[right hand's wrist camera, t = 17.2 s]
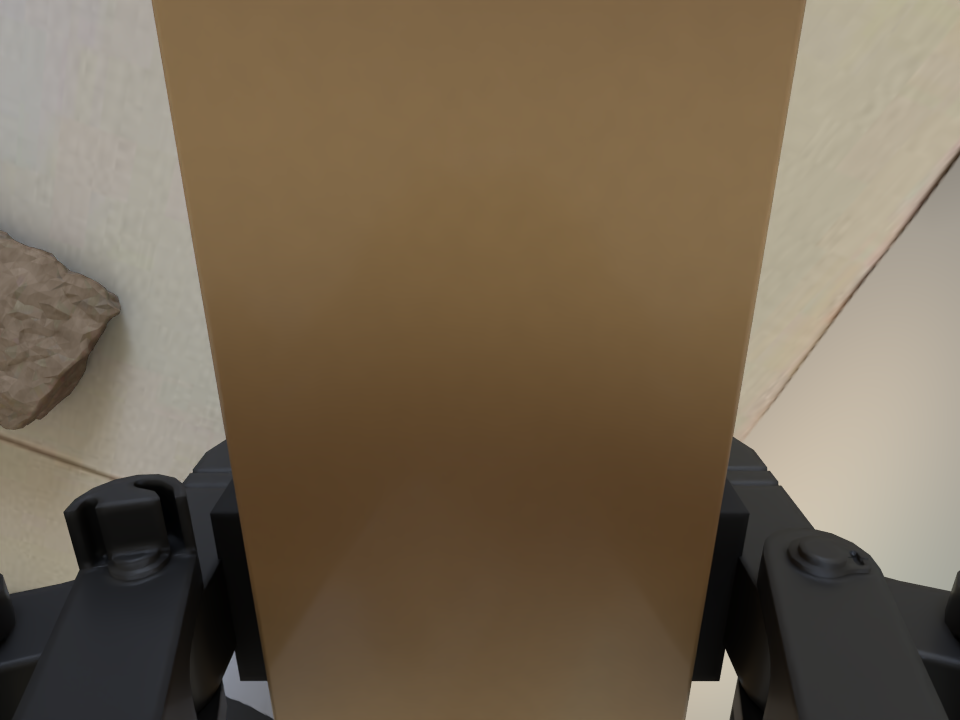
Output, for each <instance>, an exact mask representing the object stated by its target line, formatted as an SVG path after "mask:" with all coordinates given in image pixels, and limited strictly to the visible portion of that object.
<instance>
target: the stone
mask: <svg viewBox="0 0 960 720" xmlns="http://www.w3.org/2000/svg"><path fill="white" fill-rule="evenodd" d="M120 308H121V306H120V303H119V300H118V297H117V296H116V295H115V294H113V293H111V292H108V291H107V290H106V288H104V287H103V286H102V285H100V284H99V283H98V282H96V281H94V280H92V279H90V278H87V277H86V276H84V275H82V274H79V273H75V272H71V271H70V270H68V269H67V268H66V267H65V266H64V265H63V264H62V263H60V262H59V261H57V259H56V258H55V257H54V255H53V254H51V253H48V252H46V251H43V250H41V249H36V248H33V247H28V246H26V245H24V244H21V243H19V242H17V241H15V240H14V239H12V238H11V237H10V236H9V235H8V234H7V233H6V232H3V231H1V230H0V425H1V426H2V427H4V428H6V429H15V430H16V429H20V428H23V427H25V426H26V425H28V424H30V423H31V422H32V421H34V420H35V419H40V420H41V419H42V418H43V417H44V416H46V415H47V414H48V412H49V411H51V410H52V409H53V408H54V407H55V406H56V405H57V404H58V403H59V402H60V401H61V400H63V399H64V398H65V397H67V396H68V395H70V393H71V392H72V391H73V389H74V388H75V386H76V385H77V383H78V381H79V380H80V379H81V377H82V376H83V373H84V372H85V370H86V363H87V359H88V355H89V354H90V352H91V351H92V350H93V348H94V346H95V345H96V343H97V341H98V339H99V337H100V336H101V334H102V333H103V332H104V330H105V328H106V325H107V323H108V322H109V321H110V320H111V319H112V317H115V316H116V315H118V314H119V313H120Z"/></svg>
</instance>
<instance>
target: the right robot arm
mask: <svg viewBox="0 0 960 720" xmlns="http://www.w3.org/2000/svg"><path fill="white" fill-rule="evenodd" d="M64 516H65V519H66V523H67V526H68V530H69V534H70V537H71V541H72V544H73V548H74V551H75V555H76V559H77V562H78V566H79V569H80V570H79V572H78V575H77V577H76V579H75V580H73V581H69V582H65V583H62V584H57V585H52V586H47V587H43V588H38V589H33V590H28V591H23V592H18V593H13V594H9V592H8V589H7V586H6V583H5V580H4V577H3V575H2V574H0V720H274V717H273V711H272V705H271V700H270V694H269V688H268V682H267V676H266V670H265V664H264V658H263V652H262V647H261V641H260V635H259V629H258V623H257V617H256V611H255V605H254V600H253V594H252V588H251V582H250V576H249V570H248V564H247V558H246V552H245V547H244V541H243V535H242V529H241V523H240V517H239V511H238V505H237V500H236V494H235V488H234V482H233V476H232V470H231V464H230V458H229V452H228V447H227V441H226V440H225V441H223V442H222V443H220V444H218V445H217V446H215V447H214V448H212V449H211V450H209V451H207V452H206V453H205V455H204V456H203V457H202V458H201V460H200V461H199V462H198V464H197V465H196V466H195V468H194V469H193V473H190V474H189V475H188V477H187V478H186V479H185V481H184V482H183V483H181V482H180V481H178V480H177V479H176V478H174V477H169V476H165V475H160V474H149V475H135V476H130V477H125V478H121V479H116V480H113V481H110V482H108V483H105V484H103V485H100V486H97V487H95V488H93V489H91V490H89V491H88V492H86V493H84V494H83V495H81V496H80V497H78V498H76V499H75V500H74V501H73V502H72V503H71V504H70V505H69V507H68V508H67V509H66V510H65V511H64ZM725 649H726V651H727V653H728V656H729V658H730V660H731V662H732V665H733V667H734V669H735V671H736V674H737V676H738V679H737V685H736V690H735V695H734V700H733V705H732V710H731V715H730V720H960V571H959V572H958V573H957V576H956V579H955V582H954V585H953V588H952V591H946V590H941V589H936V588H932V587H927V586H922V585H917V584H912V583H907V582H902V581H898V580H894V579H890V578H887V577H884V576H883V573H882V571H881V569H880V568H879V566H878V565H877V564H876V562H875V561H874V560H873V558H872V557H871V556H870V555H869V554H868V553H866V552H865V551H863V550H862V549H861V548H859V547H858V546H857V545H855V544H854V543H852V542H850V541H848V540H845V539H843V538H841V537H839V536H836V535H834V534H832V533H828V532H824V531H819V530H815V529H814V528H813V526H812V525H811V524H810V522H809V521H808V520H807V519H806V517H805V516H804V515H803V513H802V512H801V511H800V509H799V508H798V507H797V506H796V504H795V503H794V502H793V500H792V499H791V498H790V496H789V495H788V494H787V493H786V491H785V490H784V489H783V487H782V486H779V485H778V481H777V480H776V478H775V477H774V476H773V474H772V473H771V472H770V471H767V467H766V465H765V464H764V463H763V461H762V460H761V459H760V458H759V456H758V455H757V454H756V452H755V451H754V450H753V449H751V448H750V447H748V446H747V445H745V444H743V443H742V442H740V441H739V440H737V439H736V438H734V437H733V439H732V445H731V451H730V456H729V462H728V468H727V474H726V480H725V486H724V492H723V498H722V504H721V510H720V516H719V522H718V528H717V534H716V540H715V546H714V552H713V557H712V563H711V569H710V575H709V581H708V587H707V593H706V599H705V605H704V611H703V617H702V623H701V629H700V635H699V641H698V647H697V653H696V658H695V664H694V670H693V676H692V681H719V680H720V675H721V669H722V663H723V658H724V653H725Z"/></svg>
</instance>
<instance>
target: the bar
mask: <svg viewBox="0 0 960 720" xmlns="http://www.w3.org/2000/svg"><path fill="white" fill-rule="evenodd" d="M152 5H153V11H154V17H155V23H156V29H157V35H158V41H159V47H160V52H161V58H162V64H163V70H164V76H165V82H166V88H167V94H168V99H169V105H170V111H171V117H172V123H173V129H174V135H175V141H176V147H177V152H178V158H179V164H180V170H181V176H182V182H183V188H184V194H185V199H186V205H187V211H188V217H189V223H190V229H191V235H192V241H193V247H194V252H195V258H196V264H197V270H198V276H199V282H200V288H201V294H202V299H203V305H204V311H205V317H206V323H207V329H208V335H209V341H210V347H211V352H212V358H213V364H214V370H215V376H216V382H217V388H218V394H219V400H220V405H221V411H222V417H223V423H224V429H225V435H226V441H227V447H228V452H229V458H230V464H231V470H232V476H233V482H234V488H235V494H236V500H237V505H238V511H239V517H240V523H241V529H242V535H243V541H244V547H245V552H246V558H247V564H248V570H249V576H250V582H251V588H252V594H253V600H254V605H255V611H256V617H257V623H258V629H259V635H260V641H261V647H262V652H263V658H264V664H265V670H266V676H267V682H268V688H269V694H270V700H271V705H272V711H273V717H274V720H685V718H686V712H687V706H688V700H689V694H690V688H691V682H692V676H693V670H694V664H695V658H696V653H697V647H698V641H699V635H700V629H701V623H702V617H703V611H704V605H705V599H706V593H707V587H708V581H709V575H710V569H711V563H712V557H713V552H714V546H715V540H716V534H717V528H718V522H719V516H720V510H721V504H722V498H723V492H724V486H725V480H726V474H727V468H728V462H729V456H730V451H731V445H732V439H733V433H734V427H735V421H736V415H737V409H738V403H739V397H740V391H741V385H742V379H743V373H744V367H745V361H746V355H747V350H748V344H749V338H750V332H751V326H752V320H753V314H754V308H755V302H756V296H757V290H758V284H759V278H760V272H761V266H762V260H763V255H764V249H765V243H766V237H767V231H768V225H769V219H770V213H771V207H772V201H773V195H774V189H775V183H776V177H777V171H778V165H779V159H780V154H781V148H782V142H783V136H784V130H785V124H786V118H787V112H788V106H789V100H790V94H791V88H792V82H793V76H794V70H795V64H796V58H797V53H798V47H799V41H800V35H801V29H802V23H803V17H804V11H805V5H806V0H152Z"/></svg>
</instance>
